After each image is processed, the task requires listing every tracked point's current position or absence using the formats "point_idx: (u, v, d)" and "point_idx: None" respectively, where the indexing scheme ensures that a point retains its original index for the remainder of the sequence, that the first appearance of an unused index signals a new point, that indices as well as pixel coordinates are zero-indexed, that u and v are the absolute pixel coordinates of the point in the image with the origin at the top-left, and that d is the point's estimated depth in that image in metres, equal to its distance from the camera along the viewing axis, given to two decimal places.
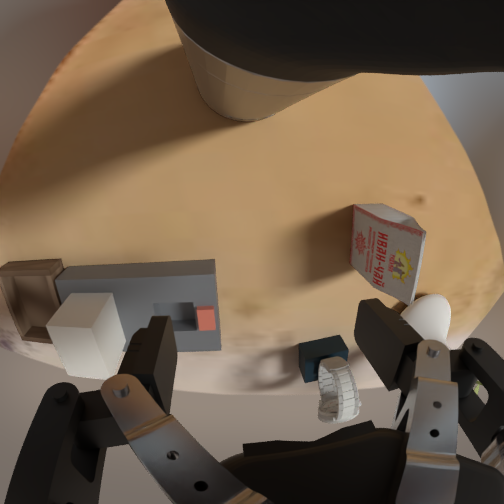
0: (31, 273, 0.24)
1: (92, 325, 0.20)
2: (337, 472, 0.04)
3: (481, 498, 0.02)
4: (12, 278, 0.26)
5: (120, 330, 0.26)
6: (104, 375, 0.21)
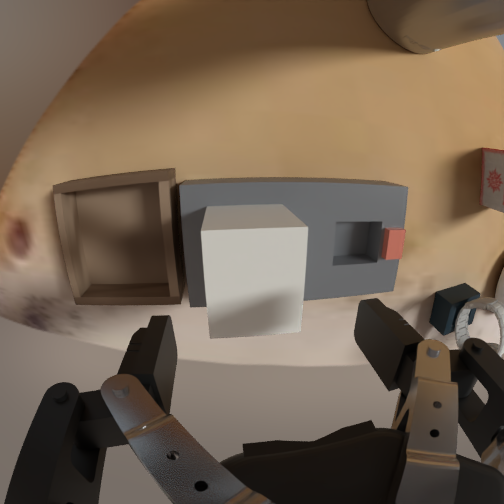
0: (128, 179, 0.18)
1: (306, 225, 0.14)
2: (337, 472, 0.04)
3: (481, 498, 0.02)
4: (74, 203, 0.20)
5: None
6: (290, 324, 0.15)
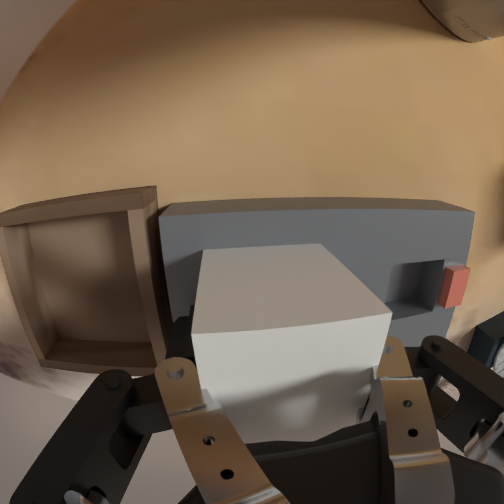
0: (84, 208, 0.11)
1: (386, 306, 0.07)
2: (337, 472, 0.04)
3: (482, 498, 0.02)
4: (26, 237, 0.13)
5: None
6: None
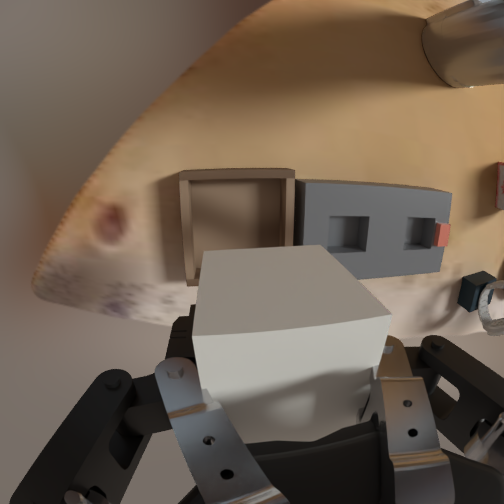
0: (260, 174, 0.22)
1: (386, 308, 0.07)
2: (337, 472, 0.04)
3: (482, 498, 0.02)
4: (191, 191, 0.24)
5: None
6: None
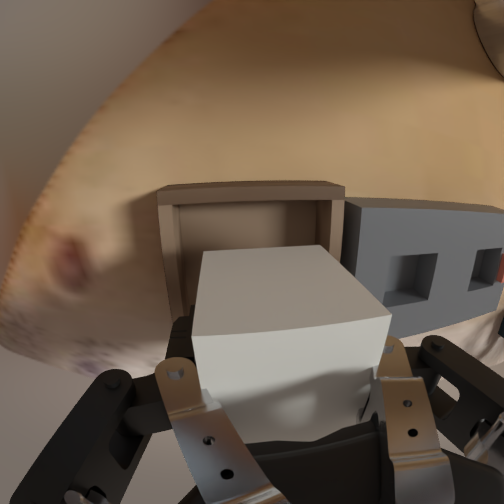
0: (292, 193, 0.14)
1: None
2: (337, 472, 0.04)
3: (482, 498, 0.02)
4: (179, 219, 0.16)
5: None
6: None
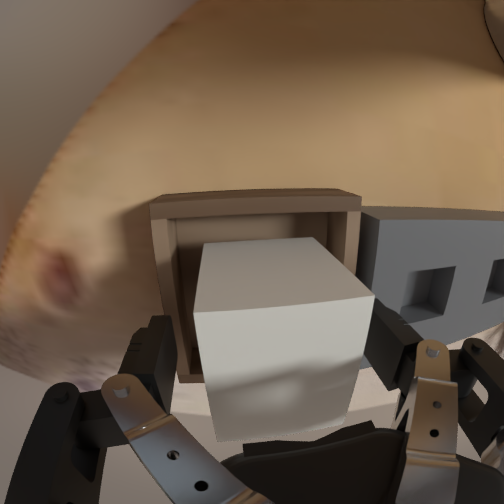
0: (303, 205, 0.12)
1: (369, 290, 0.08)
2: (337, 472, 0.04)
3: (481, 498, 0.02)
4: (176, 233, 0.14)
5: None
6: (331, 418, 0.09)
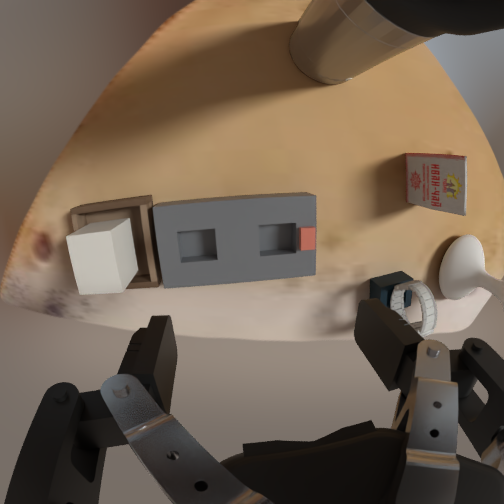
0: (121, 204, 0.28)
1: (111, 229, 0.23)
2: (337, 472, 0.04)
3: (481, 498, 0.02)
4: (85, 221, 0.30)
5: (134, 255, 0.29)
6: (115, 287, 0.25)
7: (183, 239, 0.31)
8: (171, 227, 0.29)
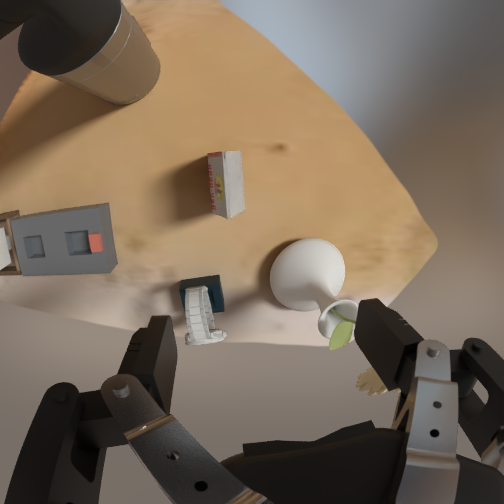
0: None
1: None
2: (337, 472, 0.04)
3: (481, 498, 0.02)
4: None
5: (7, 252, 0.33)
6: None
7: (32, 241, 0.34)
8: (20, 234, 0.32)
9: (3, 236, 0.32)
